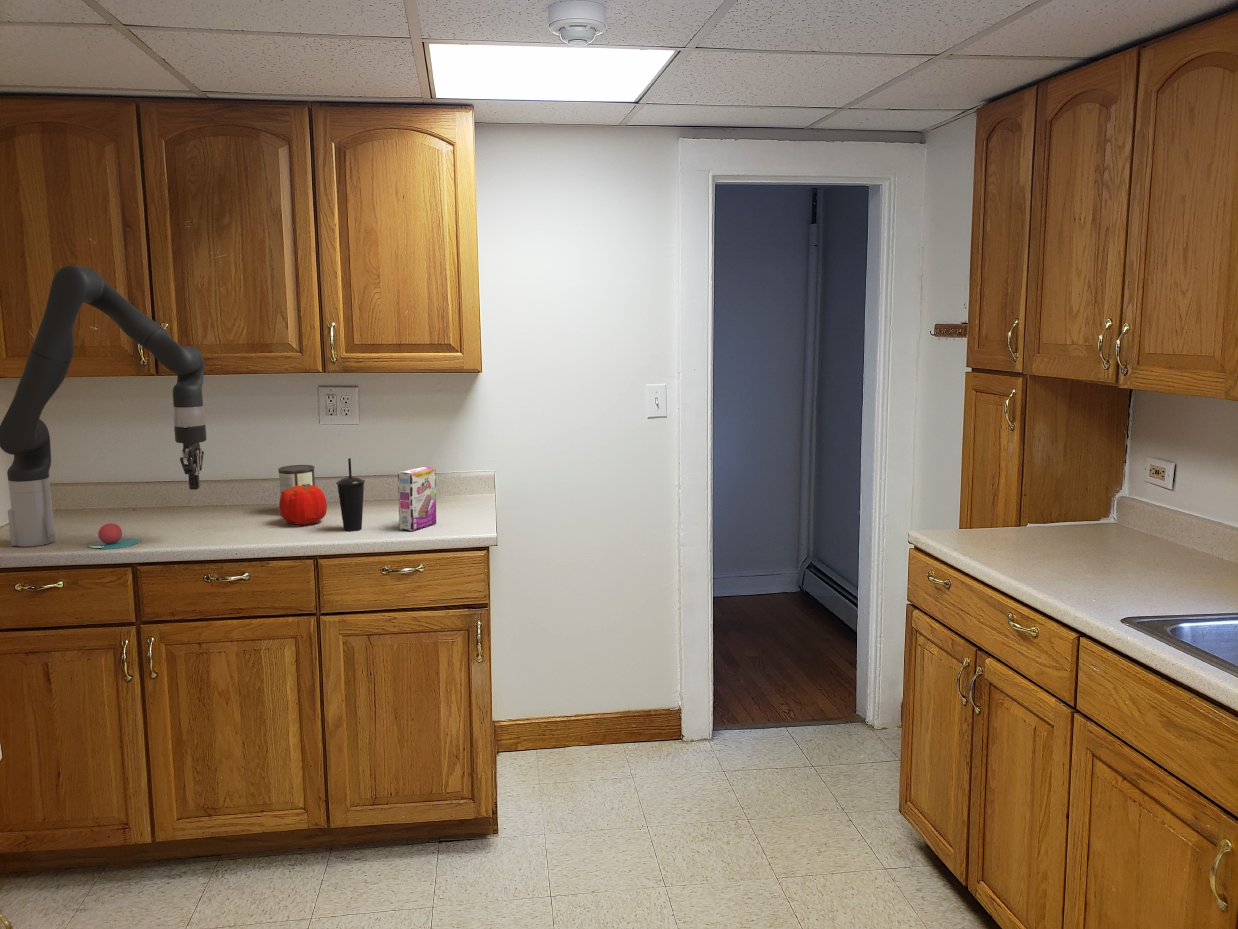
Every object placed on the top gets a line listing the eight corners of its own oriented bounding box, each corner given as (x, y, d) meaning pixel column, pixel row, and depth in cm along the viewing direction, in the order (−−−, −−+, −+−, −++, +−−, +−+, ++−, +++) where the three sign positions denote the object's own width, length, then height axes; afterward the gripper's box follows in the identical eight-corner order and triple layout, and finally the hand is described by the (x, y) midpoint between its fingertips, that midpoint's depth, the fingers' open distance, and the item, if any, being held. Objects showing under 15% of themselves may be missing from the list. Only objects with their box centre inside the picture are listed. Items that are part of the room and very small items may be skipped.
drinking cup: (365, 531, 261) (362, 460, 258) (337, 533, 260) (333, 461, 257) (368, 525, 269) (365, 456, 266) (340, 527, 268) (336, 456, 264)
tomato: (287, 518, 280) (285, 483, 278) (333, 517, 280) (331, 482, 279) (273, 528, 266) (271, 491, 264) (321, 527, 267) (319, 491, 265)
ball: (122, 534, 246) (108, 550, 246) (129, 530, 252) (116, 545, 252) (104, 521, 245) (90, 537, 245) (111, 517, 250) (98, 532, 251)
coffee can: (294, 509, 293) (291, 464, 290) (323, 510, 290) (321, 465, 288) (273, 516, 283) (270, 469, 281) (304, 517, 280) (301, 470, 278)
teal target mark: (80, 550, 243) (80, 549, 243) (99, 539, 254) (99, 538, 254) (130, 548, 244) (130, 547, 244) (146, 537, 256) (146, 536, 256)
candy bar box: (413, 532, 261) (411, 473, 258) (398, 530, 263) (396, 472, 261) (438, 524, 271) (436, 467, 268) (423, 522, 273) (421, 466, 271)
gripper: (182, 421, 253) (187, 485, 256) (166, 427, 240) (171, 494, 243) (211, 420, 254) (216, 484, 257) (197, 426, 241) (202, 493, 244)
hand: (194, 489), depth 250 cm, fingers closed
